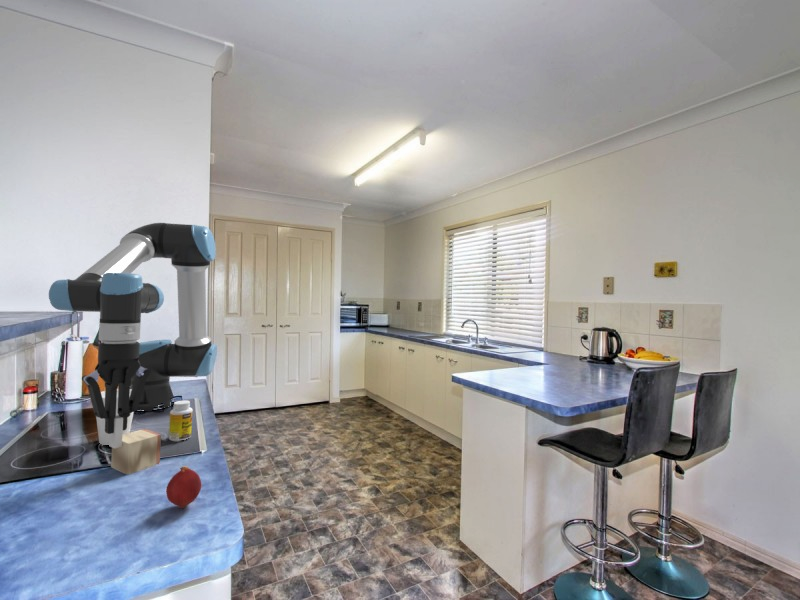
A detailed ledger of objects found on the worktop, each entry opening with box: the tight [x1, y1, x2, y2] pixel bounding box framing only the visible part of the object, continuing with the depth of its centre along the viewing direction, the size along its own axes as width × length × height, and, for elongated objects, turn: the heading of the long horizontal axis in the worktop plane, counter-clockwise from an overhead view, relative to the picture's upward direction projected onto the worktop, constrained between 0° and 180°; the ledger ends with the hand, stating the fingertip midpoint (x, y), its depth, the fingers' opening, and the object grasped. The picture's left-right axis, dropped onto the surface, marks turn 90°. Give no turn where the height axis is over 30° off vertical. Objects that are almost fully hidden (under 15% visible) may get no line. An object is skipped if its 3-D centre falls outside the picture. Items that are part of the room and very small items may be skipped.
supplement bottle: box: [168, 399, 194, 442], centre depth 107 cm, size 6×6×10 cm
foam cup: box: [95, 388, 135, 446], centre depth 103 cm, size 10×9×13 cm
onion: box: [166, 465, 202, 509], centre depth 73 cm, size 6×6×8 cm
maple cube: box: [110, 428, 162, 476], centre depth 90 cm, size 7×7×7 cm
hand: (115, 446), depth 86 cm, fingers closed
